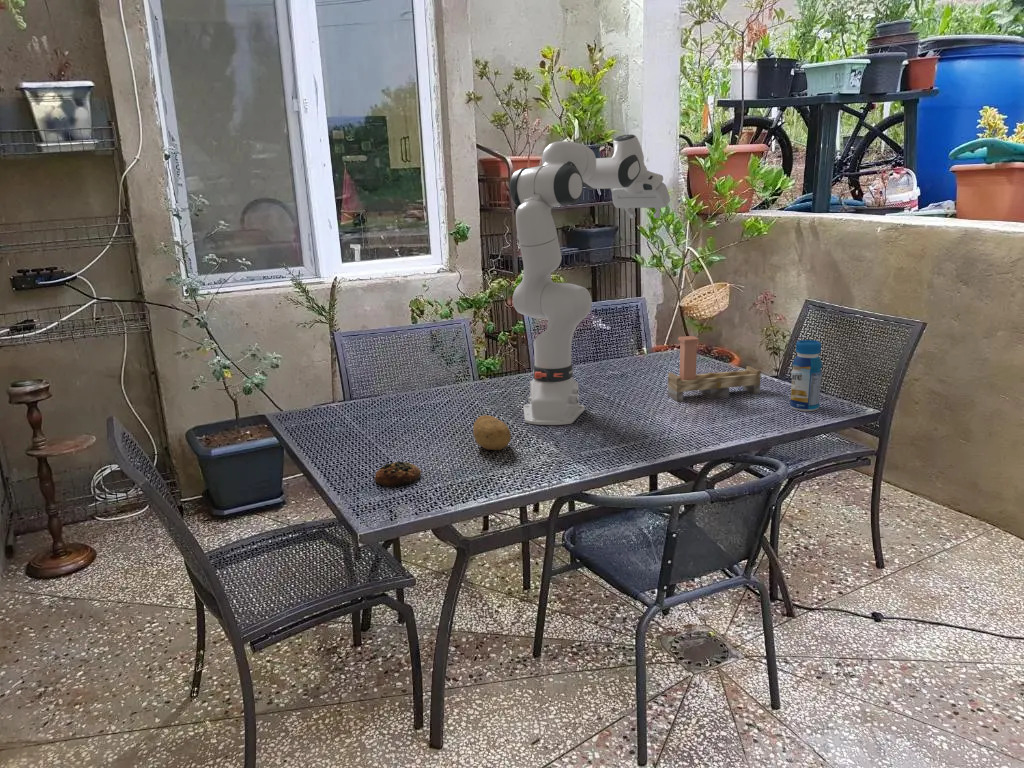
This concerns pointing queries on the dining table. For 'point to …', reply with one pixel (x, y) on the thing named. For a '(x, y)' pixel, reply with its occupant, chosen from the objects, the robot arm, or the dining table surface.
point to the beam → (715, 383)
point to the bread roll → (397, 474)
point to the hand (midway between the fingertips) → (645, 217)
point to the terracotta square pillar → (688, 357)
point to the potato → (491, 433)
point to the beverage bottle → (806, 376)
